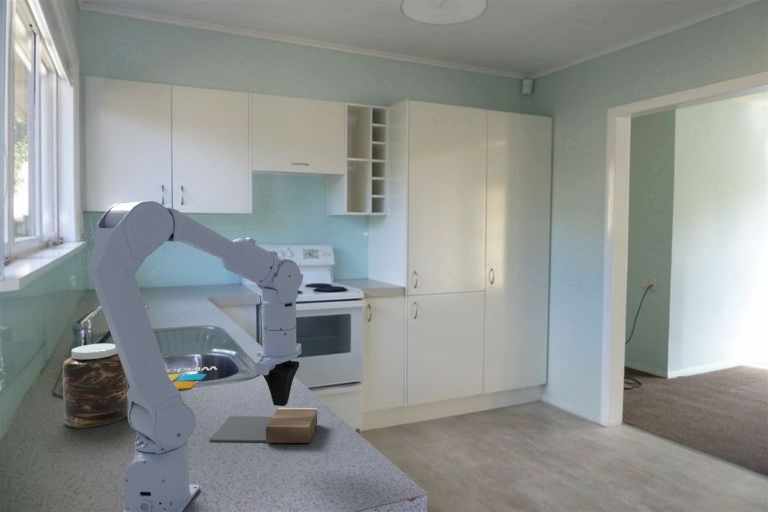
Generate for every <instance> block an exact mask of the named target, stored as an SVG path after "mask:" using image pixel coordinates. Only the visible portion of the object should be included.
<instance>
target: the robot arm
mask: <svg viewBox="0 0 768 512" xmlns="http://www.w3.org/2000/svg"><path fill="white" fill-rule="evenodd" d="M95 233H96V236H95V238H94V239H95V240H94V244H93V248H92V249H93V250H92V254H91V256H90V257H91V258H90V261H89V265H88V273H89V276H90V279H91V282H92V285H93V288H94V290H95V293H96V296H97V299H98V301H99V304H100V308H101V310H102V313H103V315H104V319H105V321H106V324H107V327H108V329H109V332H110V335H111V337H112V341H113V344H115V347H116V349H117V352H118V355H119V358H120V361H121V363H122V366H123V369H124V372H125V375H126V377H127V380H128V392H127V394H126V395H127V398H128V401H129V410H128V416H127V421H128V425H130V427H131V428H132V430H134V431H136V437H135V440H134V448H135V449H134V457H133V460H132V462H131V463H130V464H129V466H128V467H127V468H126V471H125V473H124V477H123V478H124V479H123V480H124V482H123V483H124V485H123V486H124V488H123V489H124V509H125V510H124V511H123V512H183V511H184V510H185V508H186V507H187V506H188V504H189V503H190V502H191V500H192V499H193V498H194V497H195V495H196V494H197V493H198V491H199V490H200V488H201V486H200V484H190V456H189V455H190V453H189V439H190V438H191V437H192V435H193V433H194V431H195V429H196V425H197V419H196V414H195V411H194V410H193V409H192V407H190V406H189V405H188V404H186V403H185V401H184V398H183V396H182V393H181V391H180V390H178V389H177V388H176V386H175V385H174V384H173V383H174V381H171V380H170V378H169V376H168V375H169V373H168V372H167V370H168V369H167V368H166V365H165V362H164V359H163V356H162V353H161V351H160V348H159V344H158V341H157V337H156V335H155V332H154V329H153V327H152V323H151V320H150V317H149V314H148V311H147V308H146V304H145V302H144V299H143V297H142V293H141V290H140V287H139V285H138V281H137V278H136V274H137V272H139V270H140V268H141V267H142V265H143V263H144V262H145V260H146V259H147V258H148V257H149V256H150V255H152V254H153V253H154V252H155V251H156V250H158V249H159V248H160V247H162V246H163V245H165V243H166V242H174V243H175V242H180V243H182V244H185V245H187V246H190V247H192V248H193V249H197V250H199V251H202V252H204V253H207V254H209V255H211V256H214V257H215V258H218V259H221V262H222V264H223V268H224V269H225V270H227V271H228V272H230V273H233V274H234V275H237V276H238V277H242V278H244V279H245V280H247V281H250V282H253V283H255V284H256V286H257V287H258V288H259V289H260V290H261V303H262V304H261V305H262V306H261V311H262V350H259V351H257V352H256V357H259V359H258V360H257V361H256V362H255V363H254V371H255V375H257V376H262V377H263V379H265V382H266V384H267V387H268V390H269V394H270V396H271V401H272V404H273V406H275V407H276V406H277V407H286V406H287V405H288V403H289V400H290V395H291V390H292V385H293V383H294V378H295V375H296V373H297V371H298V369H299V368H300V362H299V361H298V360H297V361H296V360H295V359H297V358H298V357H299V356H300V355H301V354H302V344H301V343H297V299H298V292H299V289H300V287H301V286H302V283H303V280H304V274H302V272H301V270H300V267H299V266H298V264H297V263H296V262H295V261H294V260H293V259H288V258H280V257H279V256H278V255H279V254H278V252H276V251H275V250H267V249H265V248H263V247H262V246H259V245H258V244H256V243H257V240H256V239H254V238H252V237H245V238H243V237H239V238H236V239H233V240H231V239H229V238H227V237H225V235H224V236H223V235H222V234H220V233H218V232H217V231H215V230H214V229H211V228H209V227H207V226H206V225H204V224H202V223H201V222H198V221H197V220H195V219H193V218H192V217H190V216H188V215H186V214H185V213H182V212H181V211H179V210H177V209H175V208H171V207H169V206H168V207H166V206H165V205H163V204H162V203H159V202H157V201H154V200H145V201H139V202H122V201H121V202H117V203H115V204H113V205H111V206H110V207H108V209H106V211H105V212H104V213H103V214H102V216H101V218H99V220H98V221H97V222H96V223H95ZM294 360H295V361H294Z"/></svg>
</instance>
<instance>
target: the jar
mask: <svg viewBox="0 0 768 512" xmlns="http://www.w3.org/2000/svg"><path fill="white" fill-rule="evenodd" d="M128 390H129V383H128V380H127V377H126V375H125V372H124V369H123V366H122V363H121V361H120V358H119V355H118V352H117V349H116V347H115V344H114V343H92V344H86V345H80V346H77V347H74V348H72V349H71V357H69V358H67V359H65V360H64V361H63V362H62V397H63V415H64V425H66V426H67V427H70V428H77V429H84V428H85V429H86V428H97V427H102V426H106V425H107V426H108V425H111V424H114V423H117V422H120V421H121V420H124V419H125V418H128V410H129V401H128V398H127V395H126V394H127V392H128Z"/></svg>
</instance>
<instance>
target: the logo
mask: <svg viewBox="0 0 768 512" xmlns="http://www.w3.org/2000/svg"><path fill="white" fill-rule="evenodd" d="M213 369H214V371H218V368H217V367H216V366H210V368H208V367H207V366H204V367H202V368H201V367H194V369H191V367H188V368H183V367H182V368H178V369H176V368H171V369H166V370H167V373H168V376H169V378H170V380H171V381H172V382H173V384H174V385H175V386H176V388H177V389H178V390H179V391H187V390H191V389H192V388H193V387H195V386H196V385H197V383H198V382H200V381H203V379H204V378H205V377H206V376H207V375H208V374H207V373H199V372H203V371H204V370H206V371H208V372H209V371H212V370H213ZM187 371H188V372H196V371H197V373H185V372H187ZM176 372H177V373H176ZM172 373H173V374H172ZM174 373H175V374H174ZM182 373H184V374H183V375H182ZM180 376H181V377H180ZM177 378H179V379H177ZM176 379H177V380H176ZM175 380H176V381H175Z"/></svg>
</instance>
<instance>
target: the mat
mask: <svg viewBox="0 0 768 512" xmlns="http://www.w3.org/2000/svg"><path fill="white" fill-rule="evenodd" d="M272 417H273V416H254V415H253V416H250V415H249V416H243V415H242V416H239V415H235V416H234V415H231V416H229V417H228V418H227V419H226V420H225V421H224V422H223V424H222V425H221V426H220V427H219V428H218V429H217V430H216V432H215V433H213V435H212V436H211V437H210V438H209V442H213V443H215V442H217V443H220V442H223V443H225V442H226V443H227V442H228V443H266V426H267V424H268V423H269V421H270V420H271V418H272Z"/></svg>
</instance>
